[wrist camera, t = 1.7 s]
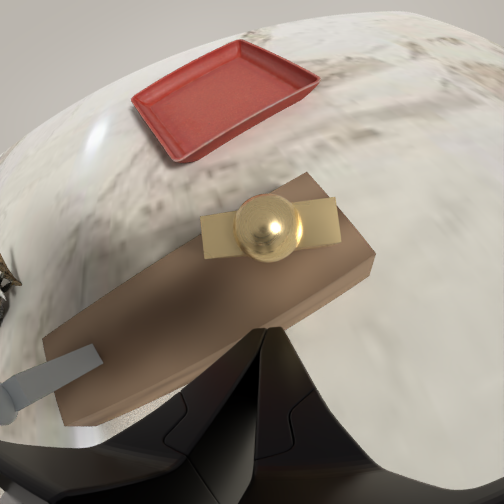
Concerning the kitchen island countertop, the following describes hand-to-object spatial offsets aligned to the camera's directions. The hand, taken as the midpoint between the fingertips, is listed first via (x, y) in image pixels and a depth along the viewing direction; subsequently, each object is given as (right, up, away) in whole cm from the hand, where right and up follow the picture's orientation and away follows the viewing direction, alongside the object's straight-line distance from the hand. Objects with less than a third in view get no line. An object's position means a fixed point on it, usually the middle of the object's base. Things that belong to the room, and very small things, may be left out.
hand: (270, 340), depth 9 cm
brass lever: (+2, +3, +12) cm, 12 cm away
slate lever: (-13, -6, +11) cm, 19 cm away
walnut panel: (-5, -3, +15) cm, 16 cm away
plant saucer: (-4, +21, +27) cm, 34 cm away
